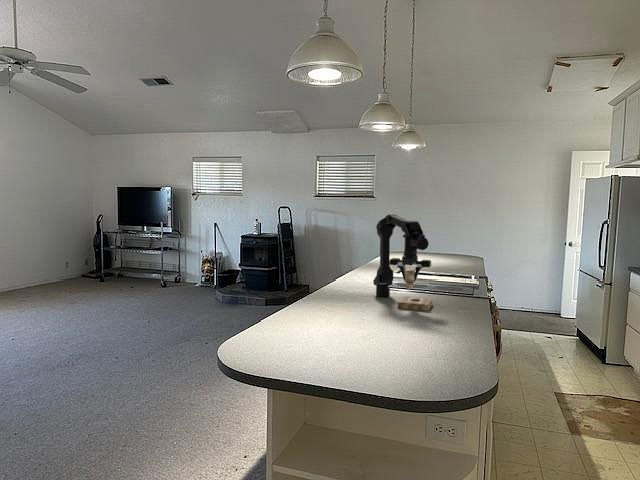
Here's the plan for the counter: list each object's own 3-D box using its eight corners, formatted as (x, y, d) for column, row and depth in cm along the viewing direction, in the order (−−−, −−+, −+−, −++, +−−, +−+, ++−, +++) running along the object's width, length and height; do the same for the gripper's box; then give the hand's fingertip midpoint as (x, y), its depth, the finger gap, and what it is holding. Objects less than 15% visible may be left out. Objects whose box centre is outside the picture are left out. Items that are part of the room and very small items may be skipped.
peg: (403, 288, 212) (404, 270, 211) (405, 286, 216) (406, 269, 216) (413, 289, 210) (414, 271, 210) (415, 287, 215) (416, 269, 214)
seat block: (397, 308, 212) (397, 301, 212) (403, 302, 225) (403, 296, 225) (427, 311, 207) (428, 304, 207) (432, 304, 220) (432, 298, 220)
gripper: (387, 248, 208) (386, 281, 209) (428, 250, 201) (426, 285, 202) (392, 246, 218) (392, 278, 220) (431, 248, 211) (430, 281, 212)
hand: (409, 280), depth 213 cm, fingers closed on peg, 5 cm apart
